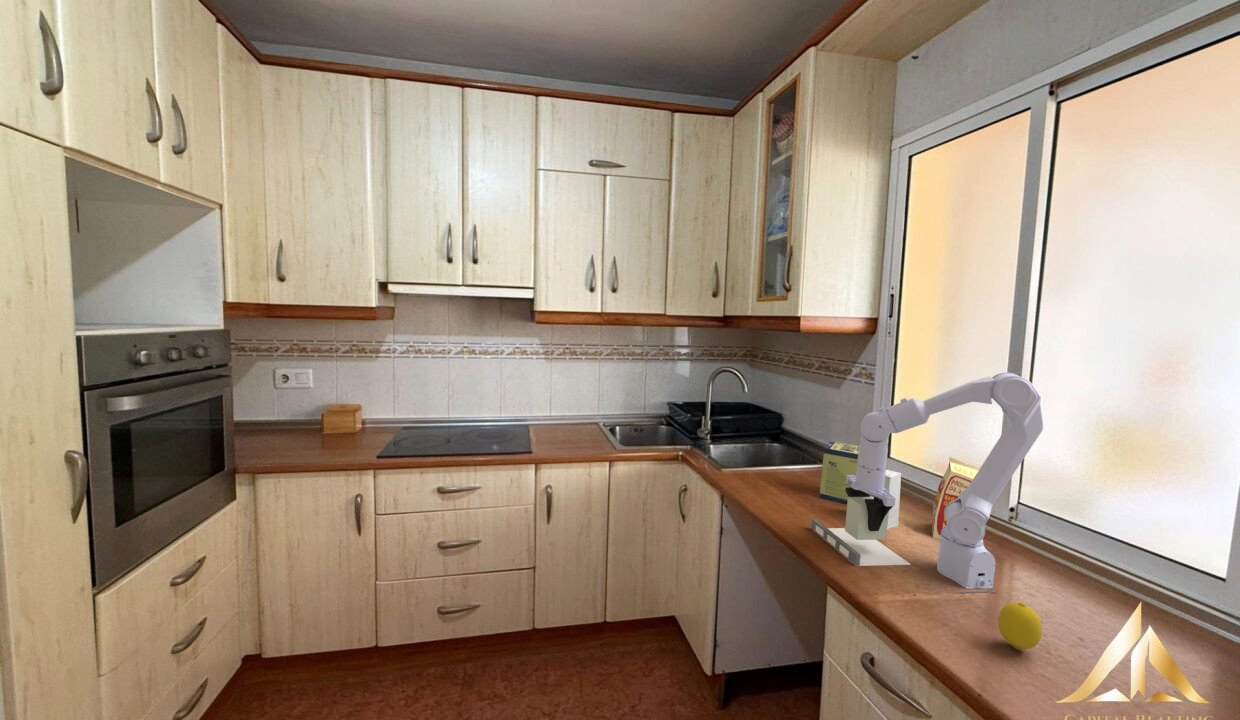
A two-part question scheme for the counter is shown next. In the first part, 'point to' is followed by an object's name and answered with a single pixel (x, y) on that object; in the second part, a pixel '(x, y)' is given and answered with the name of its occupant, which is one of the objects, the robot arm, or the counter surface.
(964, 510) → the robot arm
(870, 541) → the shelf board
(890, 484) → the skincare box
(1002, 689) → the counter surface
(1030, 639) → the lemon
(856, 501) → the box
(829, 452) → the protein box
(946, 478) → the milk carton
